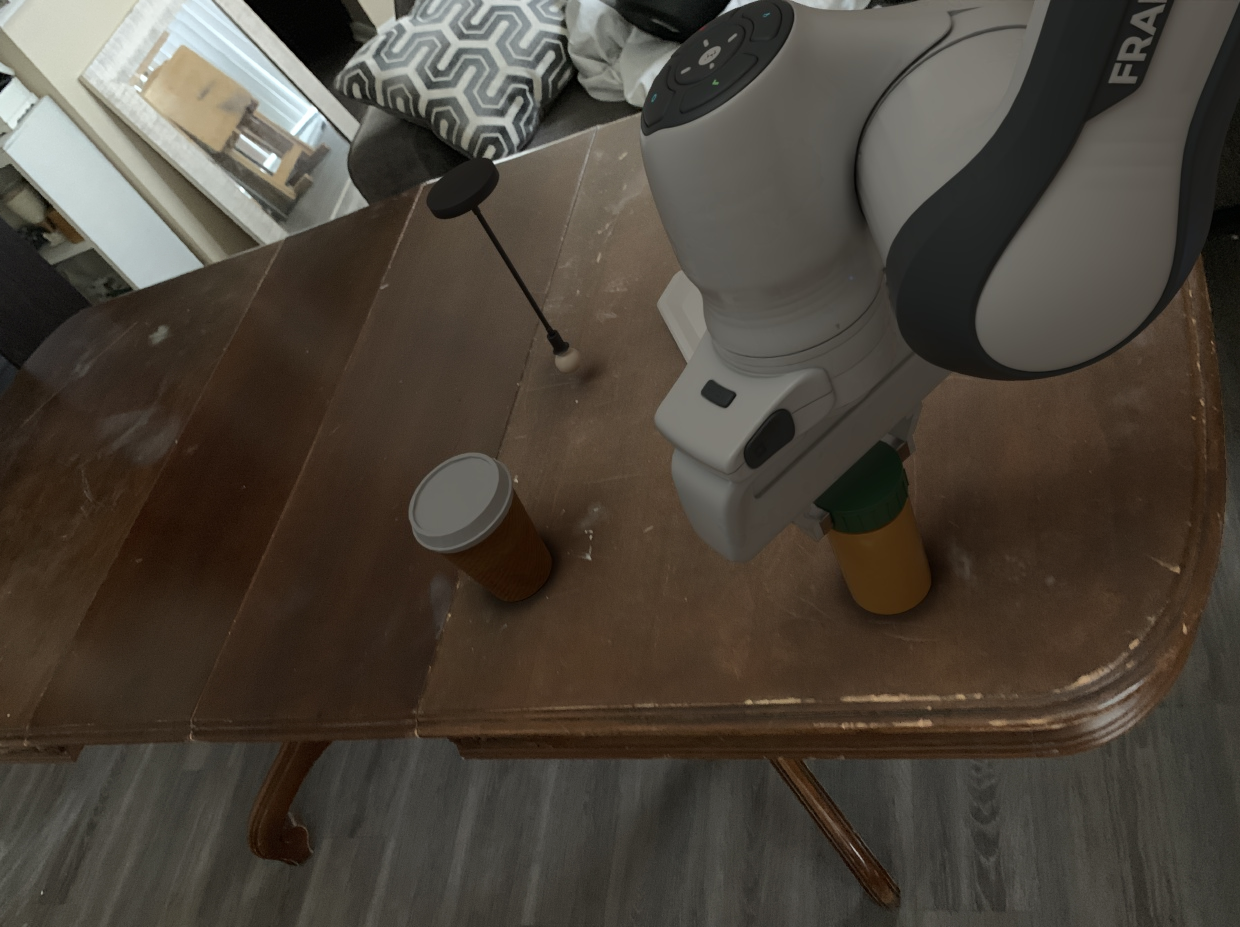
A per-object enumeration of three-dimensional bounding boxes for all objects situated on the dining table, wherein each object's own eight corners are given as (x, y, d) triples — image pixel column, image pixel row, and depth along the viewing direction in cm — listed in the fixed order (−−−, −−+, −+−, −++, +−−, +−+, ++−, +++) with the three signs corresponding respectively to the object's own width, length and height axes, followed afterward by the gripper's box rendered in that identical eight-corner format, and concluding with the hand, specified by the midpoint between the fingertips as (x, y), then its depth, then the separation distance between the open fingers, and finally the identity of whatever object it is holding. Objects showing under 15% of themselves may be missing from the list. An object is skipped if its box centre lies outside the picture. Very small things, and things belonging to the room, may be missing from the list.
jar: (893, 534, 66) (861, 431, 58) (949, 581, 62) (922, 476, 54) (832, 580, 66) (791, 483, 58) (884, 629, 62) (847, 532, 54)
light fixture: (545, 384, 96) (418, 192, 79) (597, 349, 95) (481, 148, 78) (565, 417, 91) (436, 220, 74) (621, 381, 91) (503, 173, 73)
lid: (795, 491, 59) (786, 470, 58) (874, 443, 59) (867, 421, 57) (843, 550, 55) (835, 529, 53) (929, 499, 54) (923, 476, 53)
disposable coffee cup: (486, 635, 79) (411, 561, 70) (467, 560, 85) (397, 484, 77) (580, 585, 77) (515, 503, 69) (553, 512, 84) (491, 429, 76)
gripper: (896, 197, 50) (932, 368, 60) (630, 437, 49) (710, 574, 58) (994, 223, 46) (1016, 403, 55) (704, 489, 44) (777, 628, 54)
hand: (857, 492), depth 57 cm, fingers closed on lid, 6 cm apart
